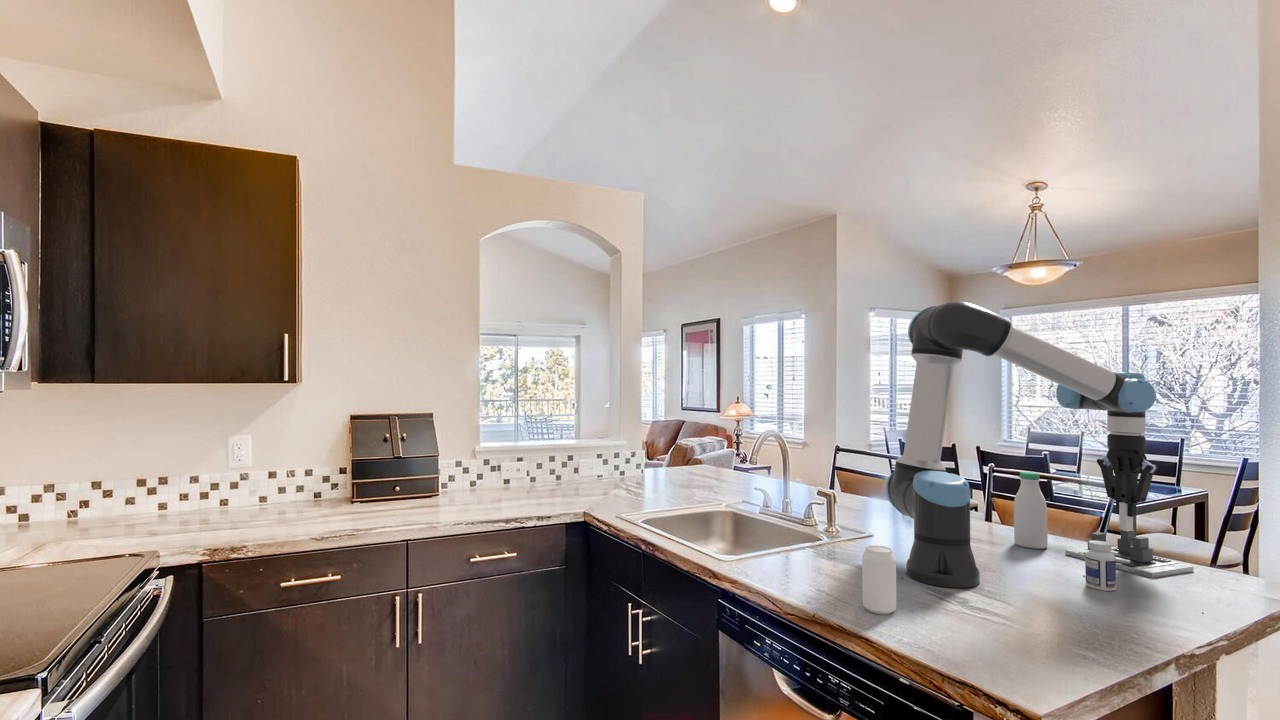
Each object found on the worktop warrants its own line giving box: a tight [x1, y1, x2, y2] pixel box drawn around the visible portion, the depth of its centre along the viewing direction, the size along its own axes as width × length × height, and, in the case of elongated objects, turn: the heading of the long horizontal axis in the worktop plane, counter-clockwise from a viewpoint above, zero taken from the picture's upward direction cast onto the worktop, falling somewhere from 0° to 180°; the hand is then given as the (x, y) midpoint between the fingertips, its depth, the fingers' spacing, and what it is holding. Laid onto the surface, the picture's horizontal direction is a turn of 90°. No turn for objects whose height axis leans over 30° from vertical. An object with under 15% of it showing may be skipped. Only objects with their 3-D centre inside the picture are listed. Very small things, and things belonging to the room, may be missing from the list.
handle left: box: [1087, 531, 1107, 550], centre depth 154 cm, size 4×3×5 cm
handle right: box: [1116, 529, 1137, 553], centre depth 157 cm, size 4×3×5 cm
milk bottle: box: [1013, 471, 1049, 550], centre depth 168 cm, size 8×8×20 cm
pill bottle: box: [1084, 540, 1117, 592], centre depth 134 cm, size 5×5×10 cm
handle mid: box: [1129, 536, 1154, 562], centre depth 150 cm, size 4×3×5 cm
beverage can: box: [861, 544, 897, 616], centre depth 120 cm, size 6×6×12 cm
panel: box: [1065, 546, 1194, 579], centre depth 152 cm, size 15×20×2 cm
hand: (1126, 528), depth 152 cm, fingers closed
